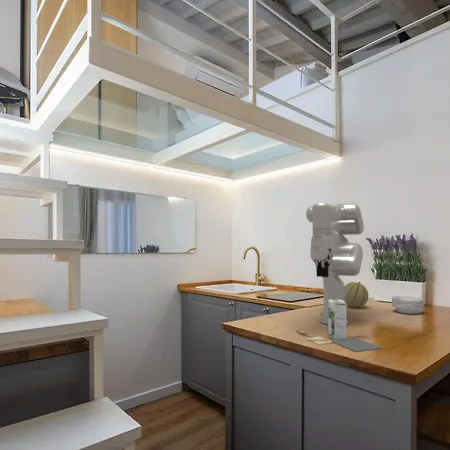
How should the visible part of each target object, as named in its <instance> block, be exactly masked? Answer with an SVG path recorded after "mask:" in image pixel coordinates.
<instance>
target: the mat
mask: <svg viewBox="0 0 450 450" xmlns="http://www.w3.org/2000/svg"><path fill="white" fill-rule="evenodd" d="M330 341H331V342H332V343H331V344H334V345H337V346H339V347H342V348H345V349H347V350H348V351H352V352H355V353H359V352H366V351H372V350H373V351H374V350H381V349H383V347H382V346H379V345H377V344H374V343H372V342H368V341H366V340H364V339H361V338H357V337H354V338H347V339H345V340H330Z"/></svg>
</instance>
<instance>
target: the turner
mask: <svg viewBox="0 0 450 450" xmlns="http://www.w3.org/2000/svg"><path fill="white" fill-rule="evenodd" d="M296 333H297V334H299V335H302V336H304V337H305V339H306V340H307V341H309V342H311V343H314V344H316V345H319V346H321V345H328V344H333V343H332V342H331V341H332V340H328V339H326V338H323V337H322V336H321V337H320V336H315V335H312V334H310V333H307V332H305V331H302V330H296Z"/></svg>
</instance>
